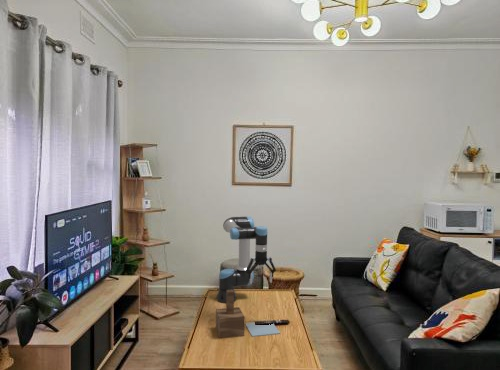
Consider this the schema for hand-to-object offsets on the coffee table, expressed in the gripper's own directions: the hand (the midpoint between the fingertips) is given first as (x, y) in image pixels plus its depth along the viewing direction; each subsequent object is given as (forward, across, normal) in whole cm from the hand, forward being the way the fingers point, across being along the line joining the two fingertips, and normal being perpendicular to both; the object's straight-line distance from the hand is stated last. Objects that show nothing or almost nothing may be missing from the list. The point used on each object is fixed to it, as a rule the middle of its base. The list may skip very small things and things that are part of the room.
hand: (260, 282), depth 233 cm
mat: (+28, 0, -6) cm, 29 cm away
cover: (+28, -21, -5) cm, 35 cm away
